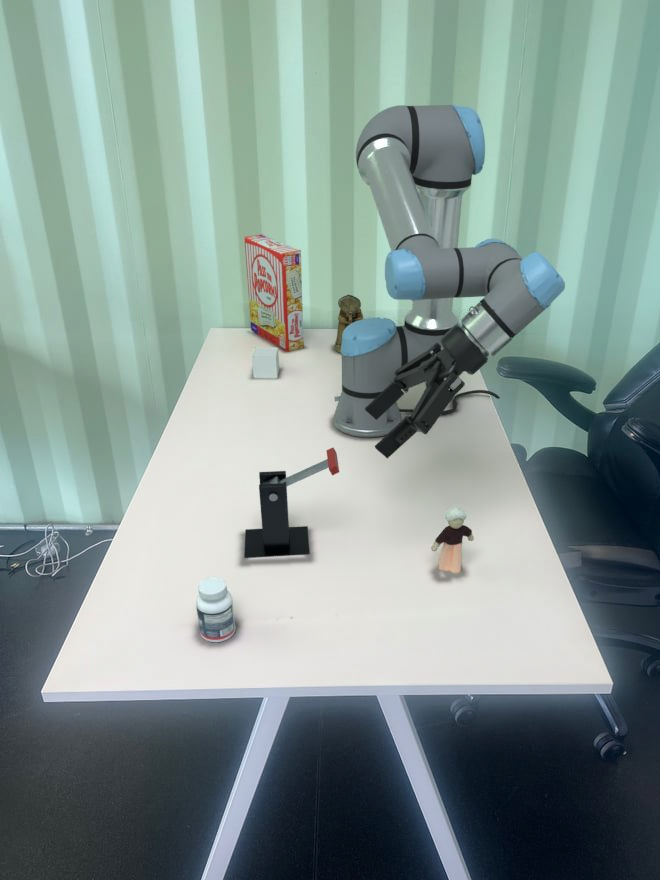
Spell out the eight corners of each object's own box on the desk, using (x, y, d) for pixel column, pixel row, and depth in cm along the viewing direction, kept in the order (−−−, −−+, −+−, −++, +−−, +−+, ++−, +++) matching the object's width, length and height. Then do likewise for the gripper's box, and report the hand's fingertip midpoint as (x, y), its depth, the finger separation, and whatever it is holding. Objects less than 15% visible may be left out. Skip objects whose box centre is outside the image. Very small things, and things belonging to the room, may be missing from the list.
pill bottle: (202, 620, 116) (196, 574, 111) (237, 618, 116) (232, 572, 111) (198, 644, 111) (191, 597, 106) (234, 642, 112) (228, 595, 107)
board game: (250, 331, 223) (243, 236, 208) (268, 327, 226) (263, 233, 212) (286, 352, 209) (281, 252, 195) (305, 348, 213) (302, 249, 198)
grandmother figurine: (441, 585, 124) (446, 521, 117) (426, 573, 127) (430, 510, 120) (476, 569, 128) (483, 506, 121) (461, 558, 130) (467, 495, 124)
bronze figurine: (332, 360, 205) (331, 294, 196) (335, 342, 217) (334, 279, 207) (365, 361, 205) (365, 295, 196) (366, 343, 217) (367, 280, 207)
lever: (338, 455, 127) (331, 444, 126) (341, 474, 122) (334, 463, 121) (269, 487, 129) (262, 476, 128) (269, 507, 124) (262, 496, 122)
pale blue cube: (279, 369, 199) (278, 347, 196) (277, 378, 194) (275, 356, 191) (256, 369, 199) (254, 347, 196) (253, 378, 194) (252, 355, 191)
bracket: (307, 531, 136) (305, 464, 129) (309, 559, 129) (307, 490, 122) (245, 534, 135) (239, 467, 127) (244, 563, 128) (237, 493, 120)
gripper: (442, 298, 125) (351, 386, 131) (477, 354, 104) (368, 455, 110) (471, 329, 128) (381, 413, 134) (511, 388, 107) (403, 484, 114)
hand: (375, 432), depth 122 cm, fingers open, 13 cm apart
